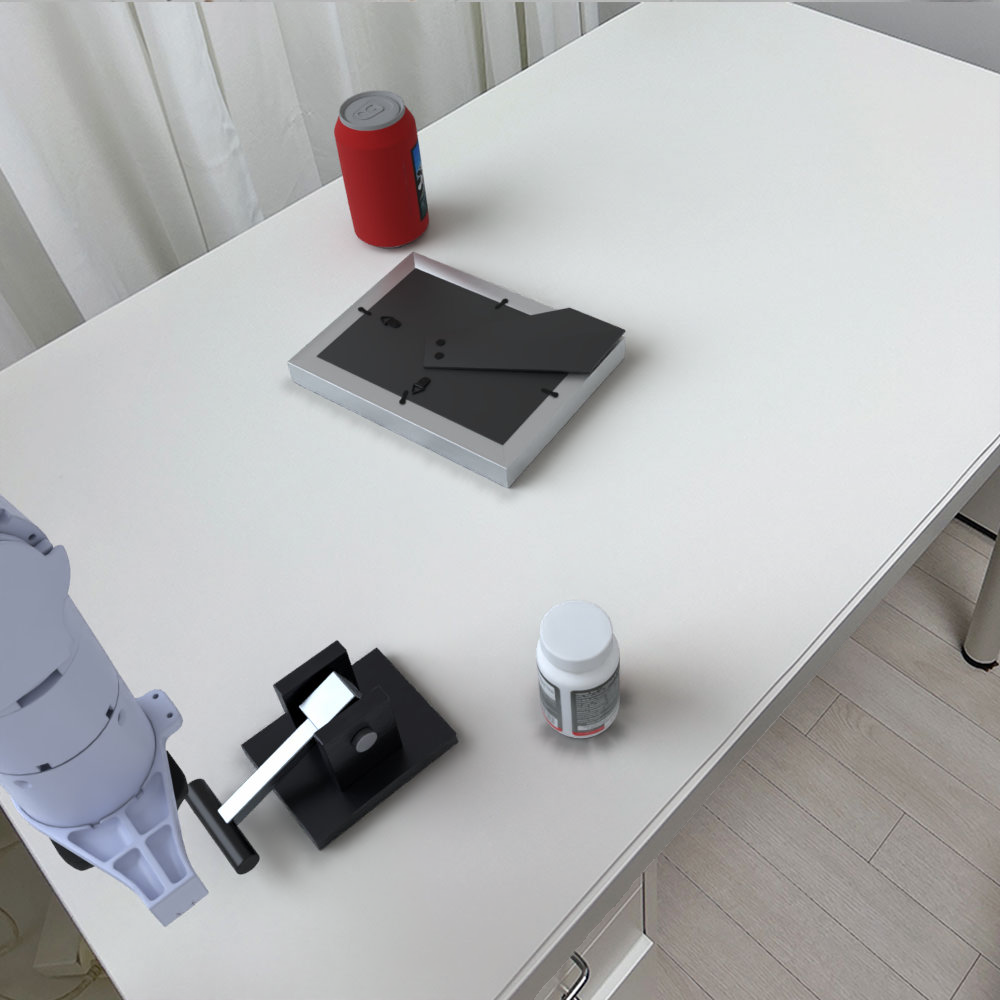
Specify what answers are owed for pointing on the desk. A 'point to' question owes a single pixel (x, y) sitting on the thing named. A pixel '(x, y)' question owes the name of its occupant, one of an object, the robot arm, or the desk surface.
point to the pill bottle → (578, 669)
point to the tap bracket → (351, 742)
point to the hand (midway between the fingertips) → (154, 849)
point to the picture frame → (460, 365)
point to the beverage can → (382, 169)
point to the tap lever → (267, 774)
